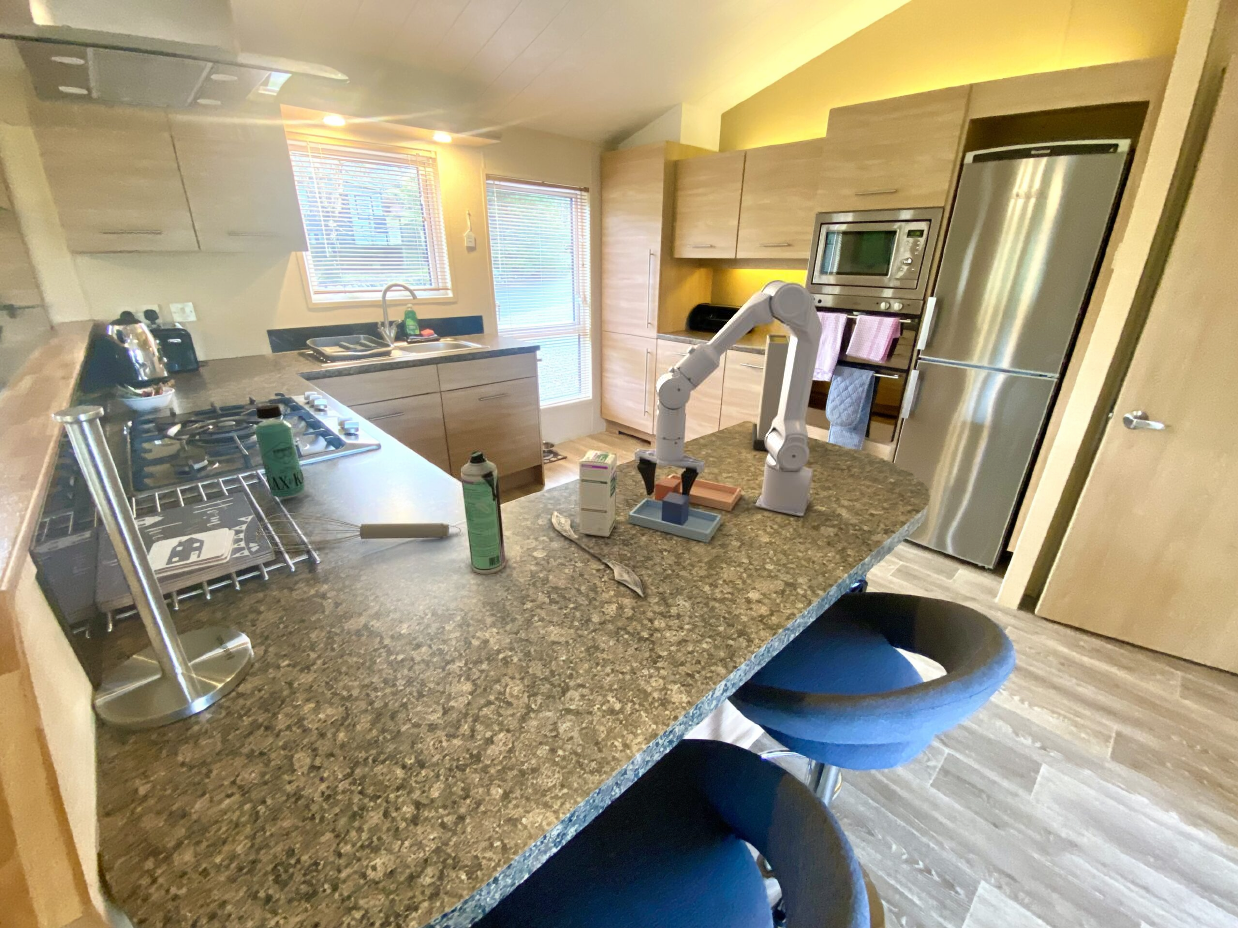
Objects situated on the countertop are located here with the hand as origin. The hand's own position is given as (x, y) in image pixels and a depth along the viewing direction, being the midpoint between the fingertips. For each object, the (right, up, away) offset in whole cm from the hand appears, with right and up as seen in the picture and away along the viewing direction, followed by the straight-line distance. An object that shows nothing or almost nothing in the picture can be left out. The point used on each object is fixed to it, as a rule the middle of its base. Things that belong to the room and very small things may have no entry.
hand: (667, 497), depth 107 cm
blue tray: (+1, -5, -7) cm, 8 cm away
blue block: (+1, -4, -7) cm, 8 cm away
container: (+31, +13, +36) cm, 49 cm away
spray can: (-32, -10, -21) cm, 39 cm away
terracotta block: (0, -1, +1) cm, 2 cm away
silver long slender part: (-15, -8, -16) cm, 23 cm away
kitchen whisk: (-56, -7, -14) cm, 58 cm away
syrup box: (-14, -5, -9) cm, 18 cm away
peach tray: (+7, 0, +4) cm, 8 cm away
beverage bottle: (-80, 0, +2) cm, 80 cm away
